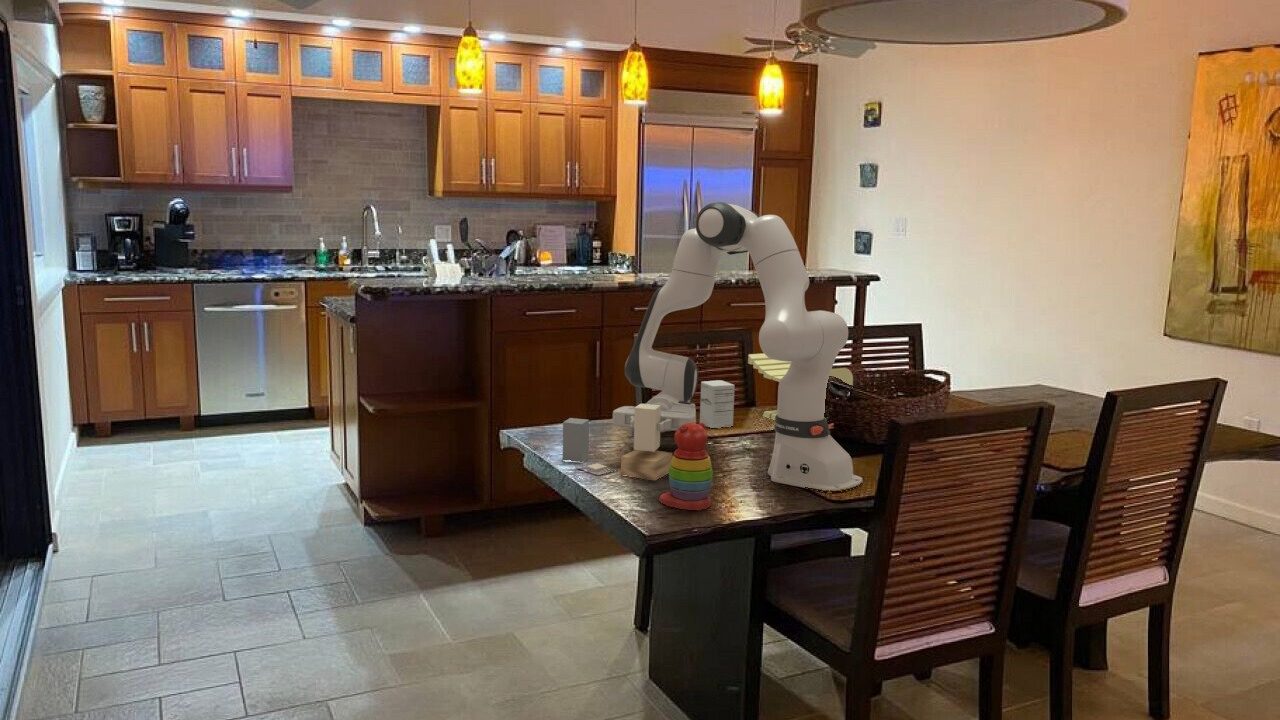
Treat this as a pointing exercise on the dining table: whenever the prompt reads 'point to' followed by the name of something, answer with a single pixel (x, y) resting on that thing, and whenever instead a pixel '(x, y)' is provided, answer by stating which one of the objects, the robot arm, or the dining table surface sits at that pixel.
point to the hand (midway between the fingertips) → (646, 425)
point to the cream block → (646, 427)
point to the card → (599, 467)
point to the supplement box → (717, 404)
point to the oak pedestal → (646, 464)
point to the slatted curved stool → (780, 368)
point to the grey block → (575, 439)
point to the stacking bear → (689, 470)
